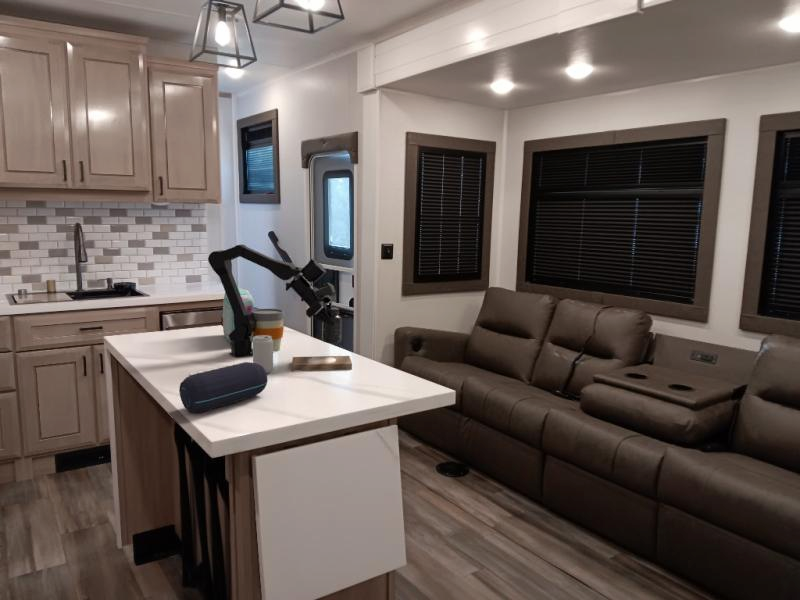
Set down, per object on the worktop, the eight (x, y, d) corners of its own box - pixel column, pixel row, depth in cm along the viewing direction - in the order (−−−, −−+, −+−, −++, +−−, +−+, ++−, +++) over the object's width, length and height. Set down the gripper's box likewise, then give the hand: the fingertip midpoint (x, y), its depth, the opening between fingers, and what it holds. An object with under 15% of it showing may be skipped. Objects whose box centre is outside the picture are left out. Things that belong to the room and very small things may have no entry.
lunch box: (220, 334, 249) (219, 284, 246) (244, 332, 254) (244, 283, 250) (230, 347, 225) (229, 292, 222) (257, 345, 230) (256, 291, 227)
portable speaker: (248, 389, 173) (248, 356, 172) (271, 396, 167) (271, 362, 166) (172, 411, 153) (171, 374, 152) (195, 419, 147) (193, 381, 146)
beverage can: (268, 375, 188) (267, 339, 186) (249, 374, 189) (249, 337, 188) (276, 370, 194) (276, 335, 192) (258, 369, 195) (257, 334, 194)
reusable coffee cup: (288, 346, 229) (288, 309, 227) (279, 354, 216) (278, 314, 214) (257, 345, 230) (257, 307, 228) (246, 352, 218) (245, 313, 215)
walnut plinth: (292, 370, 194) (292, 364, 194) (292, 362, 205) (292, 356, 205) (351, 369, 198) (352, 363, 197) (349, 361, 208) (349, 355, 208)
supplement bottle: (318, 341, 209) (318, 308, 207) (329, 338, 215) (330, 306, 213) (333, 343, 206) (334, 310, 204) (344, 340, 212) (345, 307, 210)
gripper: (315, 279, 198) (347, 312, 199) (327, 273, 216) (355, 304, 217) (292, 300, 200) (324, 334, 201) (306, 293, 218) (334, 324, 219)
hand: (335, 323), depth 209 cm, fingers closed on supplement bottle, 7 cm apart
